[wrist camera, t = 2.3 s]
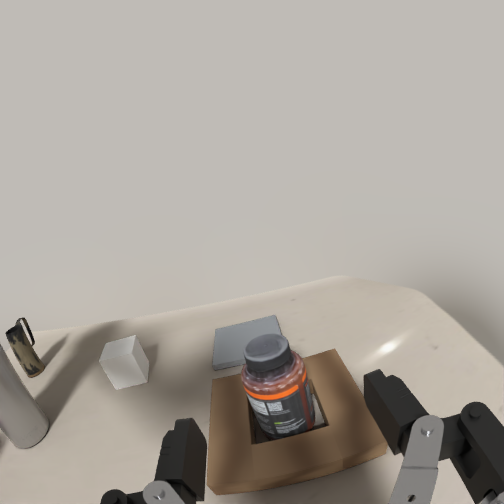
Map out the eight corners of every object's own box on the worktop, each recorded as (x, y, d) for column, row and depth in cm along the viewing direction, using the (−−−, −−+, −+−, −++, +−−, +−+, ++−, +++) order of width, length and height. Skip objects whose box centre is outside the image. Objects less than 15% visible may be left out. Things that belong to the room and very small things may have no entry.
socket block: (216, 495, 18) (206, 485, 17) (218, 392, 33) (212, 379, 33) (385, 453, 18) (388, 440, 17) (336, 362, 33) (334, 348, 33)
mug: (37, 377, 41) (11, 329, 38) (23, 378, 41) (-2, 332, 38) (52, 359, 49) (29, 314, 46) (38, 360, 49) (16, 317, 46)
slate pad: (214, 370, 38) (212, 365, 38) (217, 333, 49) (215, 329, 49) (287, 353, 39) (286, 348, 38) (276, 319, 49) (275, 314, 49)
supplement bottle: (298, 397, 29) (280, 319, 26) (326, 426, 24) (314, 344, 21) (252, 419, 27) (223, 343, 25) (275, 453, 22) (247, 377, 19)
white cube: (147, 382, 38) (131, 352, 36) (116, 390, 37) (98, 361, 35) (149, 362, 44) (135, 334, 42) (120, 370, 42) (105, 342, 41)
